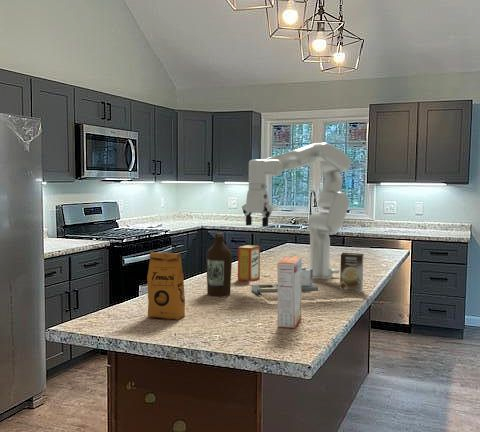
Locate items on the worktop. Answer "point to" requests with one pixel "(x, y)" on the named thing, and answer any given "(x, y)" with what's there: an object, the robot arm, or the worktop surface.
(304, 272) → the grey block with knob
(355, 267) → the coffee box
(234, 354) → the worktop surface
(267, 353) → the worktop surface
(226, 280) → the olive oil
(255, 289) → the tray with square compartments
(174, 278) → the coffee package
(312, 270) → the block with ball knob
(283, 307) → the cracker box
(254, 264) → the baking soda box
